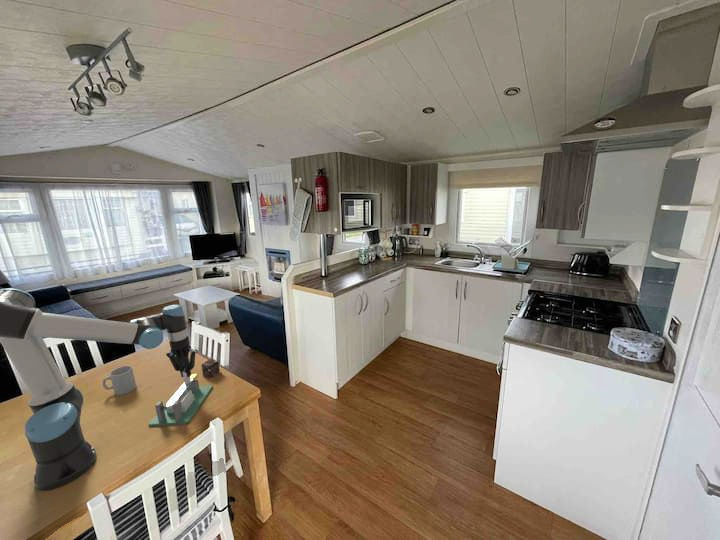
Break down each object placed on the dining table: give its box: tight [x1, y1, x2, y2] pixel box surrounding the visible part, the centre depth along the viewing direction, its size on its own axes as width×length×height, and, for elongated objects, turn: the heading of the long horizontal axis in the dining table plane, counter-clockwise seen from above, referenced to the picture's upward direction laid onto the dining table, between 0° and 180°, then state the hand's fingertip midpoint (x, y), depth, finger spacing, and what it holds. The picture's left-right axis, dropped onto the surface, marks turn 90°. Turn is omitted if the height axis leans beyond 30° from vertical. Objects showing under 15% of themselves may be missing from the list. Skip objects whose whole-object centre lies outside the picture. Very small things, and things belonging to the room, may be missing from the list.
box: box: [201, 358, 221, 378], centre depth 151 cm, size 6×6×7 cm
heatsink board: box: [147, 379, 214, 427], centre depth 128 cm, size 24×16×10 cm, turn 4°
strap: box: [161, 373, 198, 410], centre depth 127 cm, size 22×5×2 cm, turn 4°
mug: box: [102, 365, 137, 396], centre depth 138 cm, size 12×8×11 cm
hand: (187, 382), depth 132 cm, fingers closed
